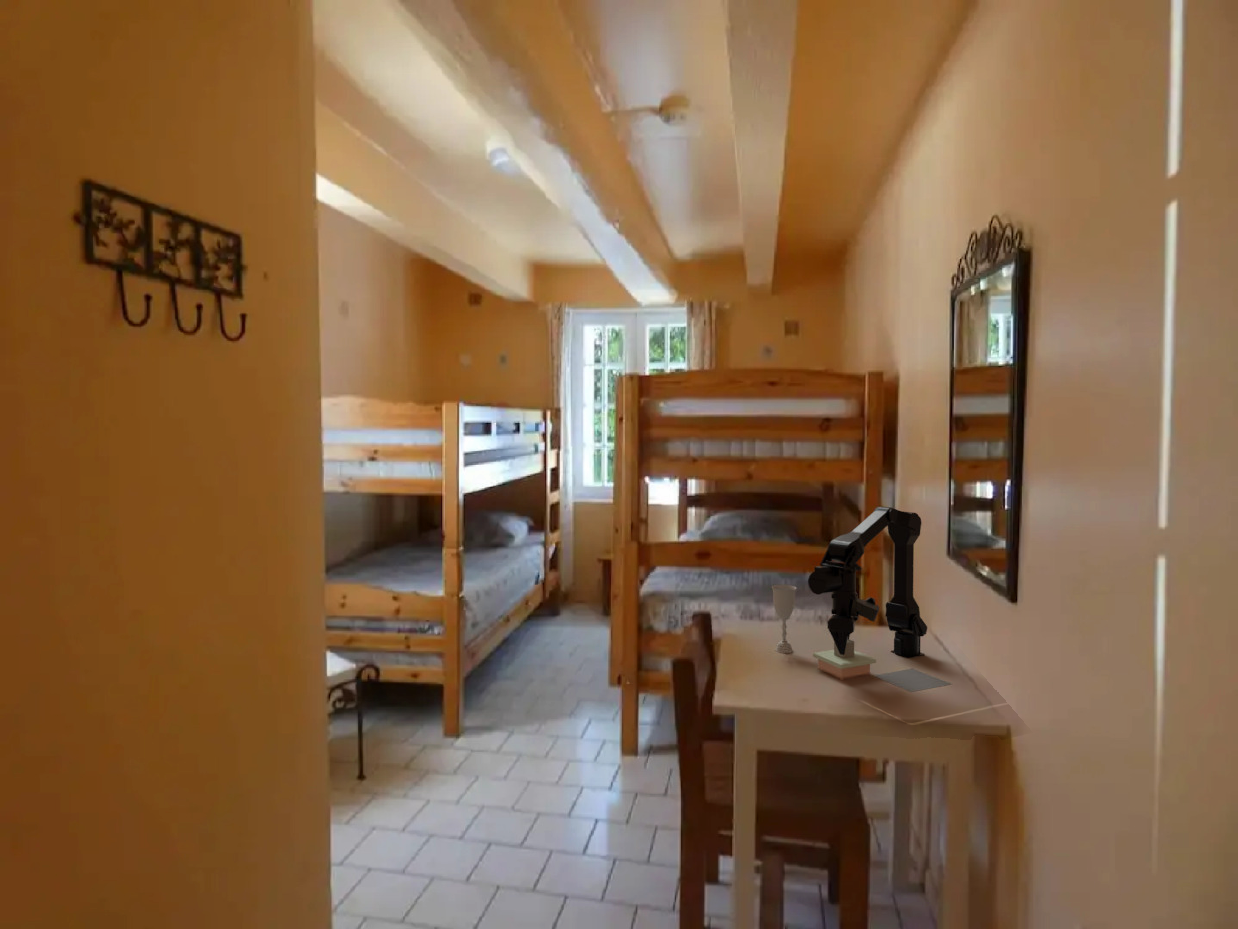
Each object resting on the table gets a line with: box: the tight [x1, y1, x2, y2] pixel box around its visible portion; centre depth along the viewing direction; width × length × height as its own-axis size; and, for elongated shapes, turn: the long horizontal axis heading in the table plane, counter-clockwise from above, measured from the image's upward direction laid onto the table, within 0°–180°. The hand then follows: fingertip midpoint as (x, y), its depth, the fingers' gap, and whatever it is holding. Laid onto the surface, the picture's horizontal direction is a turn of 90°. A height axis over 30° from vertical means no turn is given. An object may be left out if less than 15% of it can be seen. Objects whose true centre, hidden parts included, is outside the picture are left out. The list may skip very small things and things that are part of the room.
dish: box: [817, 659, 871, 681], centre depth 194 cm, size 9×9×4 cm
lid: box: [812, 638, 877, 669], centre depth 194 cm, size 11×11×5 cm
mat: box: [872, 668, 952, 693], centre depth 188 cm, size 13×13×1 cm
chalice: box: [771, 584, 797, 654], centre depth 214 cm, size 7×7×18 cm
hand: (844, 649), depth 194 cm, fingers open, 9 cm apart
